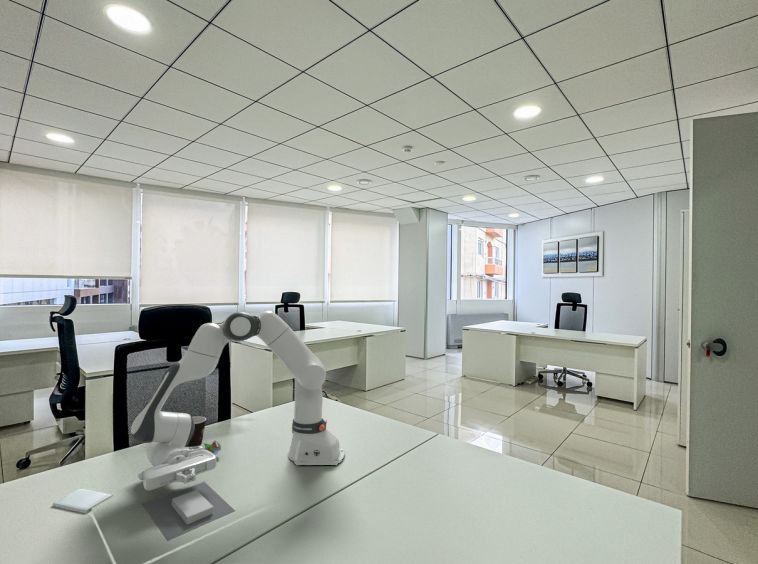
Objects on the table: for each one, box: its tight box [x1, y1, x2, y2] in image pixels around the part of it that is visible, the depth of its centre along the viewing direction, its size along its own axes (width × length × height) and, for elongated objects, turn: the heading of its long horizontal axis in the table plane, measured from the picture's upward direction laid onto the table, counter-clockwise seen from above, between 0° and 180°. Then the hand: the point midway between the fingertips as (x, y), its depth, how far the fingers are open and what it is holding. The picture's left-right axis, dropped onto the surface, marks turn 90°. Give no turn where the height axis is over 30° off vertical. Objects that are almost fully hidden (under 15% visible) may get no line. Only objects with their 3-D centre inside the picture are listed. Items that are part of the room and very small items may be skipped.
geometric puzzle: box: [202, 440, 222, 459], centre depth 136 cm, size 7×7×8 cm
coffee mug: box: [186, 416, 207, 447], centre depth 150 cm, size 12×9×10 cm
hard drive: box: [52, 488, 114, 514], centre depth 108 cm, size 2×8×12 cm
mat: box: [141, 481, 236, 541], centre depth 106 cm, size 22×18×1 cm
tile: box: [172, 490, 213, 525], centre depth 105 cm, size 2×7×12 cm
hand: (190, 479), depth 106 cm, fingers closed
